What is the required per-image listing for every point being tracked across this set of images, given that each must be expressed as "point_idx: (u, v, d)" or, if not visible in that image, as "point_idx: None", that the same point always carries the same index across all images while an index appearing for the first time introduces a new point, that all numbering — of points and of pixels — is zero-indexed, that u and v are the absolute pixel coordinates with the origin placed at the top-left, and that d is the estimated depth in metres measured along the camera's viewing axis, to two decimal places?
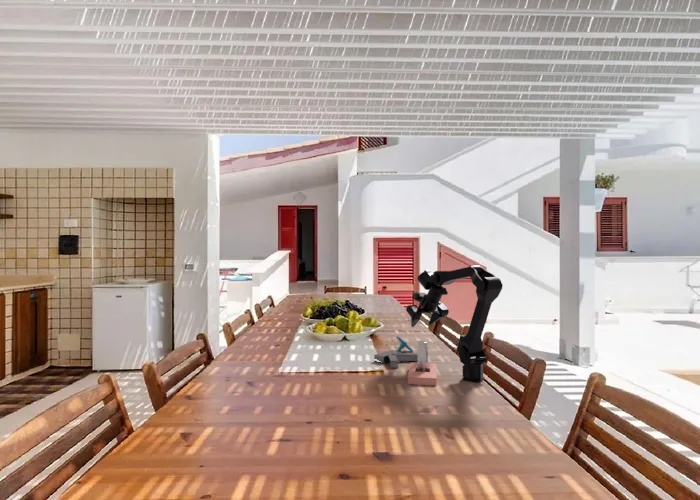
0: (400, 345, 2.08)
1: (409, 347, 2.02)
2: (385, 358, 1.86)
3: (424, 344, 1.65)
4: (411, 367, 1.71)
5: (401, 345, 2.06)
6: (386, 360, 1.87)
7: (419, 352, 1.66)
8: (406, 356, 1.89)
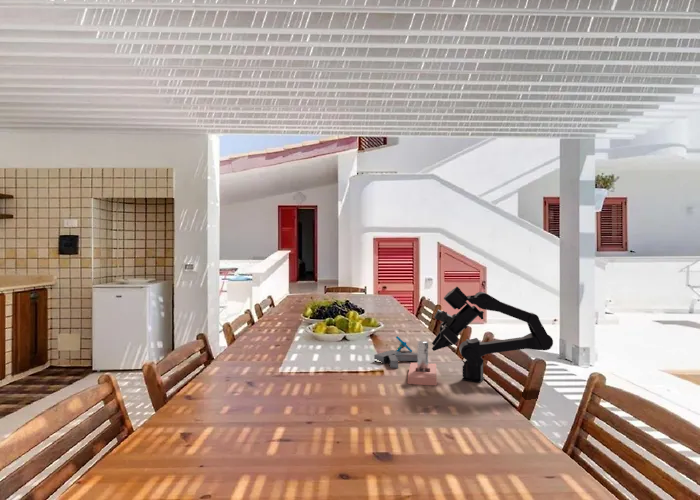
0: (400, 345, 2.08)
1: (408, 347, 2.02)
2: (385, 358, 1.86)
3: (424, 344, 1.65)
4: (411, 367, 1.71)
5: (400, 345, 2.06)
6: (386, 360, 1.87)
7: (419, 352, 1.66)
8: (406, 356, 1.89)
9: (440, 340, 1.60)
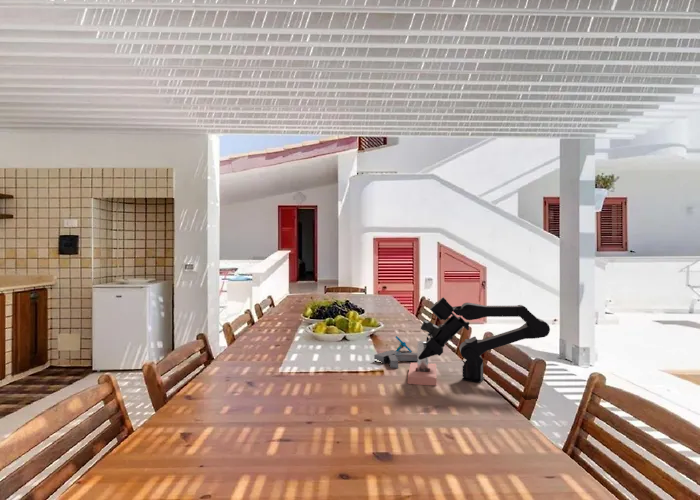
0: (399, 345, 2.08)
1: (407, 347, 2.02)
2: (385, 358, 1.86)
3: (424, 344, 1.65)
4: (411, 367, 1.71)
5: (400, 345, 2.06)
6: (386, 360, 1.87)
7: (419, 352, 1.66)
8: (406, 356, 1.89)
9: (426, 349, 1.63)
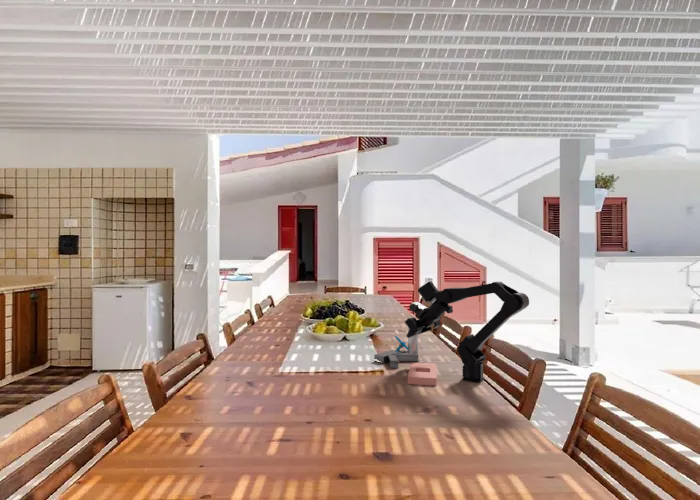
0: None
1: (407, 347, 2.02)
2: (385, 358, 1.86)
3: None
4: (411, 367, 1.71)
5: (399, 345, 2.06)
6: (386, 360, 1.87)
7: None
8: (406, 356, 1.89)
9: None
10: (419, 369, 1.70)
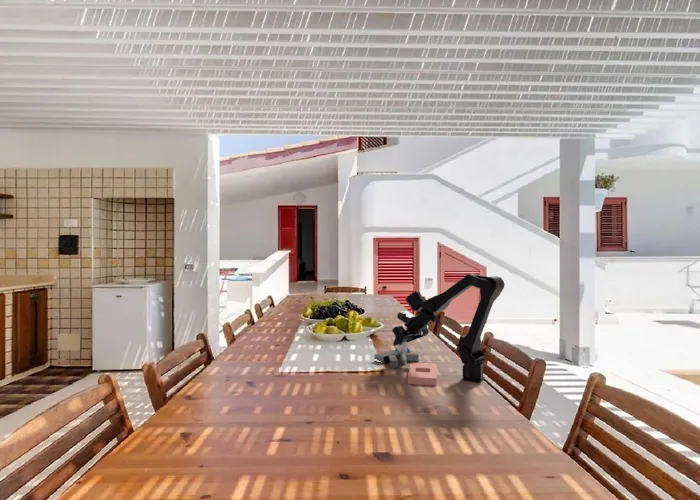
0: None
1: None
2: (385, 358, 1.86)
3: None
4: (411, 367, 1.71)
5: None
6: (386, 360, 1.87)
7: None
8: None
9: (397, 337, 1.82)
10: (419, 369, 1.70)
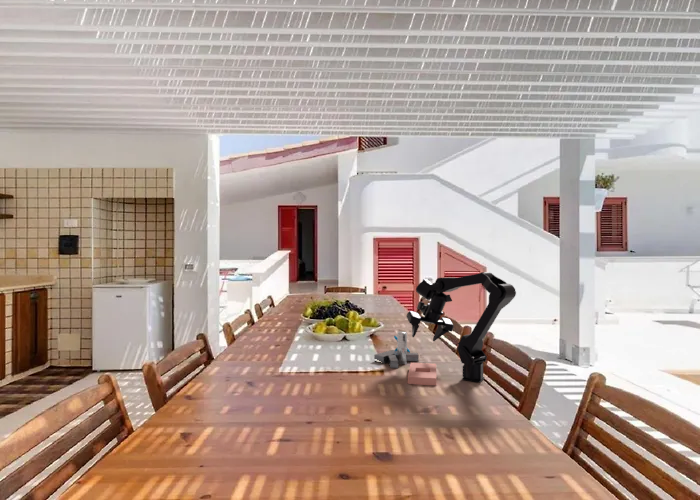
0: None
1: None
2: (385, 358, 1.86)
3: (400, 334, 1.84)
4: (411, 367, 1.71)
5: None
6: (386, 360, 1.87)
7: (397, 341, 1.86)
8: None
9: (412, 325, 1.80)
10: (419, 369, 1.70)
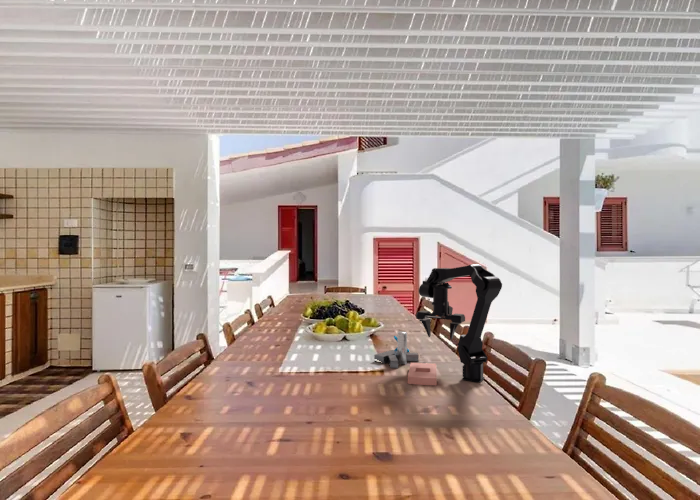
0: None
1: None
2: (385, 358, 1.86)
3: (400, 334, 1.84)
4: (411, 367, 1.71)
5: None
6: (386, 360, 1.87)
7: (397, 341, 1.86)
8: None
9: None
10: (419, 369, 1.70)
